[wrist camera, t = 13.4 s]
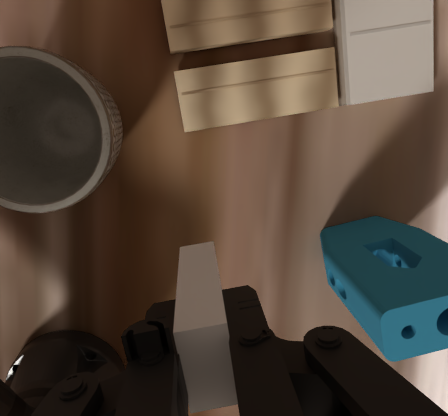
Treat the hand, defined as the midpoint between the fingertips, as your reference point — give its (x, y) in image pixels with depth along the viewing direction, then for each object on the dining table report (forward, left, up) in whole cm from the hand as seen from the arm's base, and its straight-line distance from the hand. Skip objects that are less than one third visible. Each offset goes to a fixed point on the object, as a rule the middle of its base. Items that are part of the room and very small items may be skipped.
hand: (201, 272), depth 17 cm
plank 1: (+9, +16, -30) cm, 35 cm away
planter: (-13, +7, -31) cm, 34 cm away
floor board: (+24, +12, -30) cm, 41 cm away
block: (+19, -13, -31) cm, 38 cm away
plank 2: (+9, +8, -30) cm, 32 cm away
